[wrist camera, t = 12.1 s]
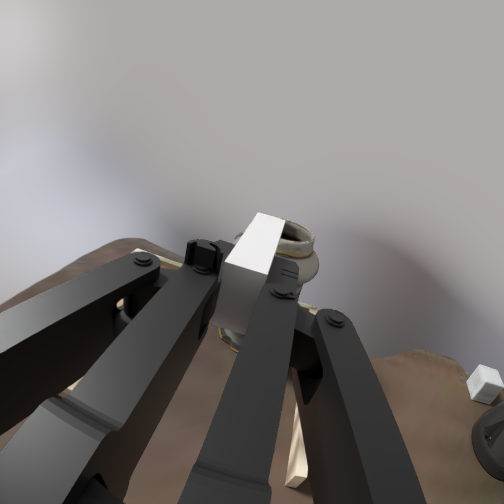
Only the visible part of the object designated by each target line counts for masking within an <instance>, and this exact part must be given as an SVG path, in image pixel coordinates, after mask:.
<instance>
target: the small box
mask: <svg viewBox="0 0 504 504" xmlns="http://www.w3.org/2000/svg"><path fill="white" fill-rule="evenodd" d="M467 386H468V389H469V392H470V396H471V400H474V401H478V402H482V403H486V404H489V405H490V404H491V403H492V401H493V400H494V399H495V398H496V397H497V395H498V394H499V393H500V392H501V391H502V389H503V388H504V385H503V383H502V380H501V378H500V375H499V373H498V371H497V370H495V369H492V368H489V367H486V366H483V365H480V364H479V366H478V367H477V369H476V370H475V371H474V372H473V374H472V375H471V376H470V378H469V379H468V380H467Z"/></svg>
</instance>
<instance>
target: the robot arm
mask: <svg viewBox="0 0 504 504" xmlns="http://www.w3.org/2000/svg"><path fill="white" fill-rule="evenodd" d="M284 224H285V220H282V219H279V218H276V217H272V216H269V215H266V214H262V213H258V214H257V215H256V217H255V218H254V219H253V221H252V222H251V224H250V225H249V227H248V228H247V230H246V231H245V232H244V234H243V235H242V237H241V238H240V240H239V241H238V242H237V244H236V245H235V244H232V243H228V242H225V241H222V240H219V241H216V242H212V241H208V240H199V239H197V240H191V241H189V242H188V243H187V249H186V255H185V261H184V264H183V265H182V266H181V267H180V268H179V269H178V270H176V269H167V268H160V266H161V261H160V259H159V258H158V257H157V256H156V255H154V254H151V253H149V252H144V251H141V252H133V253H130V254H127V255H125V256H123V257H120V258H118V259H116V260H113V261H111V262H109V263H107V264H104V265H102V266H100V267H98V268H95V269H93V270H91V271H89V272H86V273H84V274H82V275H80V276H77V277H75V278H73V279H71V280H69V281H67V282H64V283H62V284H60V285H58V286H56V287H54V288H51V289H49V290H47V291H45V292H43V293H41V294H39V295H37V296H35V297H33V298H30V299H28V300H26V301H24V302H22V303H20V304H18V305H16V306H14V307H12V308H10V309H8V310H6V311H4V312H2V313H0V435H2V434H3V433H5V432H7V431H8V430H9V429H11V428H12V427H14V426H15V425H16V424H18V423H19V422H21V421H22V420H23V419H25V418H26V417H28V416H29V415H30V414H32V413H33V414H32V415H31V416H30V417H29V418H28V420H27V421H26V422H25V423H24V424H23V426H22V427H21V428H20V429H19V430H18V432H17V433H16V434H15V435H14V437H13V438H12V439H11V440H10V442H9V443H8V444H7V445H6V447H5V448H4V449H3V450H2V452H1V453H0V504H125V503H124V502H123V499H124V497H125V495H126V492H127V489H128V485H129V480H130V477H131V475H132V473H133V471H134V469H135V467H136V465H137V463H138V461H139V459H140V458H141V456H142V454H143V452H144V450H145V448H146V446H147V444H148V442H149V440H150V439H151V437H152V435H153V433H154V431H155V429H156V427H157V425H158V423H159V422H160V420H161V418H162V416H163V414H164V412H165V410H166V408H167V406H168V404H169V403H170V401H171V399H172V397H173V395H174V393H175V391H176V389H177V387H178V386H179V384H180V382H181V380H182V378H183V376H184V374H185V372H186V370H187V369H188V367H189V365H190V363H191V361H192V359H193V357H194V355H195V353H196V352H197V350H198V348H199V346H200V344H201V342H202V340H203V338H204V336H205V335H206V333H207V330H208V325H209V321H210V319H211V317H212V321H211V324H213V325H216V326H219V327H222V328H225V329H228V330H231V331H234V332H237V333H240V334H243V335H244V338H243V340H242V343H241V346H240V349H239V351H238V354H237V357H236V359H235V362H234V365H233V367H232V370H231V373H230V375H229V378H228V381H227V383H226V386H225V389H224V391H223V394H222V397H221V399H220V402H219V404H218V407H217V410H216V412H215V415H214V418H213V420H212V423H211V425H210V428H209V430H208V433H207V436H206V438H205V441H204V443H203V446H202V448H201V451H200V453H199V456H198V458H197V461H196V463H195V464H194V466H193V468H192V470H191V472H190V475H189V477H188V479H187V482H186V484H185V487H184V489H183V492H182V494H181V496H180V499H179V501H178V504H270V501H271V494H272V492H271V486H270V485H269V484H268V479H269V473H270V468H271V463H272V458H273V453H274V448H275V443H276V438H277V433H278V427H279V422H280V416H281V411H282V405H283V399H284V393H285V387H286V381H287V375H288V369H289V366H291V367H292V371H291V374H292V379H293V385H294V390H295V396H296V402H297V407H298V413H299V418H300V424H301V430H302V436H303V441H304V447H305V453H306V459H307V465H308V471H309V477H310V483H311V489H312V495H313V501H314V504H427V503H426V500H425V497H424V495H423V492H422V489H421V486H420V483H419V480H418V478H417V475H416V472H415V469H414V467H413V464H412V461H411V459H410V456H409V453H408V451H407V448H406V446H405V443H404V441H403V438H402V435H401V433H400V430H399V428H398V425H397V423H396V421H395V418H394V416H393V413H392V411H391V408H390V406H389V404H388V401H387V399H386V397H385V394H384V392H383V390H382V387H381V385H380V383H379V380H378V378H377V376H376V374H375V371H374V369H373V367H372V365H371V362H370V360H369V358H368V356H367V354H366V352H365V349H364V347H363V345H362V343H361V341H360V338H359V336H358V334H357V332H356V330H355V328H354V326H353V324H352V322H351V321H350V319H349V318H348V317H347V316H345V315H344V314H343V313H341V312H339V311H337V310H332V309H322V310H319V311H318V312H317V313H316V315H315V314H313V313H311V312H309V311H307V310H305V309H304V308H303V307H301V306H300V304H299V303H298V295H297V294H296V291H297V284H298V276H299V267H298V265H297V263H296V262H294V261H291V260H287V259H284V258H281V257H277V256H275V254H276V251H277V248H278V244H279V241H280V237H281V234H282V231H283V227H284ZM122 299H123V305H121V306H120V307H117V303H118V302H119V301H120V300H122ZM212 315H213V316H212ZM82 377H83V378H82ZM81 378H82V379H81ZM79 379H81V380H80V381H79V382H78V384H77V385H76V386H75V387H74V388H73V390H72V391H71V392H70V393H69V394H68V395H67V396H66V397H65V398H63V399H60V398H56V396H57V395H58V394H60V393H61V392H62V391H64V390H65V389H67V388H68V387H69V386H71V385H72V384H74V383H75V382H76V381H78V380H79ZM472 443H473V448H474V451H475V453H476V456H477V458H478V460H479V461H480V463H481V464H482V466H483V467H484V468H485V469H486V471H487V472H489V473H490V474H491V475H492V476H494V477H495V478H497V479H500V480H503V481H504V400H503V401H502V402H500V403H499V404H497V405H495V406H494V407H492V408H491V409H489V410H487V411H486V412H485V413H484V414H483V415H482V416H481V417H480V418H479V419H478V420H477V421H476V422H475V424H474V426H473V429H472Z"/></svg>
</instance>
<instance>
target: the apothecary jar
mask: <svg viewBox="0 0 504 504" xmlns="http://www.w3.org/2000/svg"><path fill="white" fill-rule="evenodd" d="M272 217H273V216H272ZM276 218H279V217H276ZM253 219H254V218H253ZM253 219H252V221H253ZM279 219H282V220H285V224H284V227H283V231H282V234H281V237H280V241H279V244H278V248H277V251H276V254H275V256H277V257H281V258H284V259H287V260H291V261H294V262H296V263H297V265H298V267H299V276H298V284H297V291H296V294H297V295H298V298H299V295H300V292H301V289H302V286H303V284H304V283H306V282H308V281H310V280H311V279H313V278H314V276H315V275H316V274H317V272H318V269H319V261H318V257H317V255H316V253H315V251H314V250H313V244H314V240H315V236H314V234H313V233H312V232H311V231H310V230H309V229H307V228H306V227H304V226H302V225H300V224H298V223H296V222H293V221H290V220H287V219H283V218H279ZM252 221H251V222H252ZM250 224H251V223H250ZM245 231H246V230H245ZM245 231H243V232H241V233H239V234H238V235H237V236H236V237H235V239H234V240H233V242H232V244H235V245H236V244H237V242H238V241H239V240H240V238H241V237H242V235H243V234H244V232H245ZM219 334H220V337H221V339H222V340H224V341H226V342H227V343H228V344H229V347H230V348H231V349H232V350H234V351H236V352H238V351H239V349H240V346H241V343H242V340H243V338H244V335H243V334H240V333H237V332H234V331H231V330H228V329H225V328H222V327H219Z"/></svg>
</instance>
